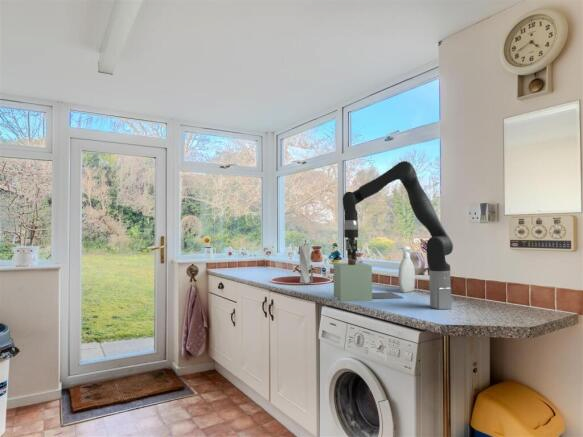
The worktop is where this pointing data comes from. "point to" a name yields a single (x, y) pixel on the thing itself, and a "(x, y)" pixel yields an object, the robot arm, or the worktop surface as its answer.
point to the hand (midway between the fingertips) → (351, 258)
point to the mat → (385, 295)
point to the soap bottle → (406, 273)
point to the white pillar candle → (305, 264)
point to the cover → (353, 281)
